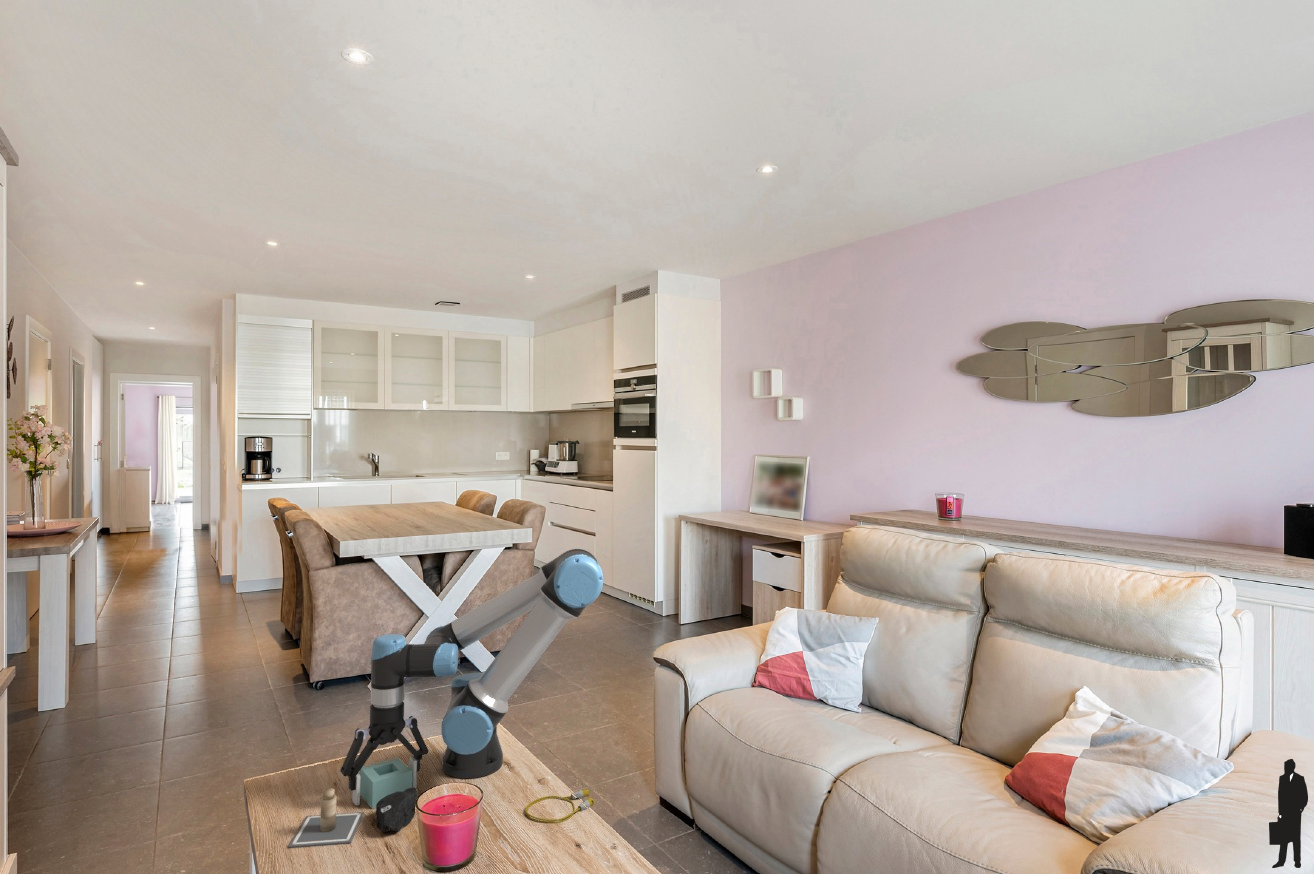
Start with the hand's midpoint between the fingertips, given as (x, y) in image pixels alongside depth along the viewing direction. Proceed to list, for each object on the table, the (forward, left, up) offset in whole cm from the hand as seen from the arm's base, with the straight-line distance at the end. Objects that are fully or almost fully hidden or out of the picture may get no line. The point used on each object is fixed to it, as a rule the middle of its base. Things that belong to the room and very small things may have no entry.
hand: (385, 794), depth 166 cm
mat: (+9, +14, 0) cm, 17 cm away
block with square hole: (0, 0, 0) cm, 0 cm away
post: (+9, +14, 0) cm, 17 cm away
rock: (-4, +12, -1) cm, 13 cm away
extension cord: (-40, +12, -1) cm, 42 cm away
